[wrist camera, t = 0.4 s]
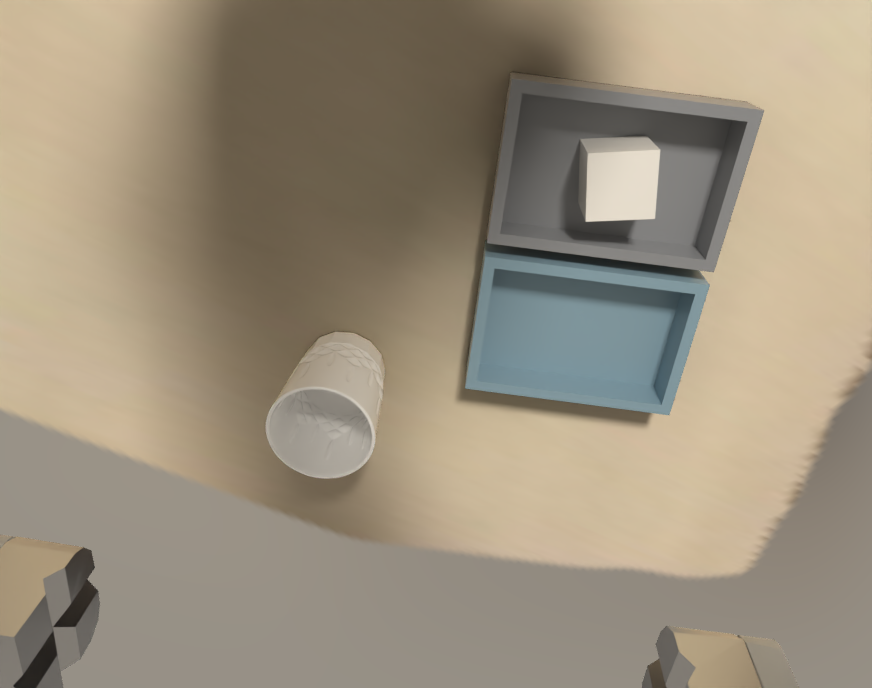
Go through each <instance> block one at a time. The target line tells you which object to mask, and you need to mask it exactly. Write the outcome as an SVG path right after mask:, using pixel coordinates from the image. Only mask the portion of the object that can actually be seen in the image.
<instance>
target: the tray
mask: <svg viewBox="0 0 872 688" xmlns="http://www.w3.org/2000/svg"><path fill="white" fill-rule="evenodd" d="M763 113H764V110H762V109H760V108H758V107H756V106H754V105H752V104H750V103H748V102H745V101H737V100H729V99H721V98H713V97H706V96H698V95H690V94H682V93H674V92H666V91H658V90H650V89H642V88H634V87H626V86H618V85H610V84H602V83H594V82H586V81H579V80H571V79H563V78H555V77H547V76H539V75H531V74H523V73H515V72H511V73H510V80H509V86H508V93H507V100H506V106H505V113H504V120H503V126H502V133H501V140H500V146H499V153H498V160H497V167H496V173H495V180H494V187H493V193H492V200H491V207H490V213H489V220H488V227H487V243H490V244H498V245H505V246H513V247H521V248H529V249H536V250H544V251H552V252H560V253H568V254H575V255H583V256H591V257H599V258H607V259H614V260H622V261H630V262H638V263H645V264H653V265H661V266H669V267H677V268H684V269H692V270H700V271H708V272H714V270H715V267H716V264H717V260H718V257H719V254H720V251H721V248H722V244H723V241H724V238H725V235H726V232H727V228H728V225H729V222H730V219H731V215H732V212H733V209H734V206H735V203H736V199H737V196H738V193H739V190H740V187H741V183H742V180H743V177H744V174H745V171H746V167H747V164H748V161H749V158H750V155H751V151H752V148H753V145H754V142H755V139H756V135H757V132H758V129H759V126H760V123H761V119H762V116H763ZM628 136H648V138H649V139H650V140H651V141H652V142H653V143H654V144H655V145H656V146H657V147H658V148H659V149H660V160H659V173H658V186H657V199H656V212H655V219H642V220H618V221H593V222H585V219H584V216H583V214H582V211H581V208H580V206H579V203H578V195H579V157H580V139H588V138H608V137H628Z"/></svg>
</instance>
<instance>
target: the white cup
mask: <svg viewBox="0 0 872 688" xmlns="http://www.w3.org/2000/svg"><path fill="white" fill-rule="evenodd" d="M384 377H385V367H384V362H383V358H382V355H381V353H380V352H379V351H378V350H377V349H376V347H375V346H374V345H373V344H372V342H371V341H369V340H367V339H365V338H363V337H361V336H359V335H357V334H355V333H349V332H333V333H330V334H328V335H325V336H322V337H319V338H318V339H317V340H316V342H315V343H314V344H313V345H312V346H311V347H310V348H309V349H308V351H307V352H306V354H305V356H304V357H303V358H302V359H301V361H300V362H299V363H298V365H297V367H296V368H295V370H294V371H293V372H292V374H291V376H290V377H289V379H288V380H287V382H286V384H285V385H284V387H283V389H282V391H281V392H280V394H279V395H278V397H277V399H276V400H275V402H274V404H273V405H272V407H271V408H270V410H269V413H268V415H267V419H266V435H267V439H268V442H269V444H270V446H271V448H272V450H273V452H274V453H275V454H276V456H277V457H278V458H279V459H280V460H281V461H282V462H283V463H284V464H286V465H287V466H288V467H290V468H291V469H293V470H295V471H297V472H299V473H301V474H304V475H307V476H310V477H314V478H322V479H332V478H339V477H343V476H347V475H349V474H351V473H353V472H355V471H357V470H358V469H360V468H361V467H362V466H363V465H364V464H365V463H366V462H367V461H368V459H369V458H370V456H371V454H372V452H373V450H374V446H375V440H376V434H377V428H378V423H379V417H380V411H381V405H382V397H383V382H384Z"/></svg>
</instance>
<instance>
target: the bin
mask: <svg viewBox="0 0 872 688" xmlns="http://www.w3.org/2000/svg"><path fill="white" fill-rule="evenodd" d="M709 286H710V285H709V284H708V282H707V281H706V279H705V278H704V277H703V275H702V274H701V272H700V271H699V270H692V269H684V268H677V267H669V266H661V265H653V264H645V263H638V262H630V261H622V260H614V259H607V258H599V257H591V256H583V255H575V254H568V253H560V252H552V251H544V250H536V249H529V248H521V247H513V246H505V245H498V244H490V243H487V240H485V247H484V254H483V260H482V267H481V274H480V280H479V287H478V294H477V300H476V307H475V314H474V320H473V327H472V334H471V340H470V347H469V354H468V361H467V368H466V384H465V389H473V390H480V391H488V392H496V393H503V394H511V395H519V396H526V397H534V398H542V399H549V400H557V401H564V402H572V403H580V404H587V405H595V406H603V407H610V408H618V409H626V410H633V411H641V412H649V413H656V414H664V415H669V414H670V411H671V408H672V405H673V401H674V398H675V395H676V392H677V389H678V385H679V382H680V379H681V376H682V373H683V369H684V366H685V363H686V360H687V357H688V353H689V350H690V347H691V344H692V341H693V337H694V334H695V331H696V328H697V325H698V321H699V318H700V315H701V312H702V308H703V305H704V302H705V299H706V296H707V292H708V289H709Z"/></svg>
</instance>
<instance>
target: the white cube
mask: <svg viewBox="0 0 872 688" xmlns="http://www.w3.org/2000/svg"><path fill="white" fill-rule="evenodd" d="M659 160H660V149H659V148H658V147H657V146H656V145H655V144H654V143H653V142H652V141H651V140H650V139H649V138H648V136H628V137H608V138H588V139H580V157H579V195H578V203H579V206H580V208H581V211H582V214H583V216H584V219H585V222H593V221H618V220H642V219H655V212H656V199H657V186H658V173H659Z"/></svg>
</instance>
